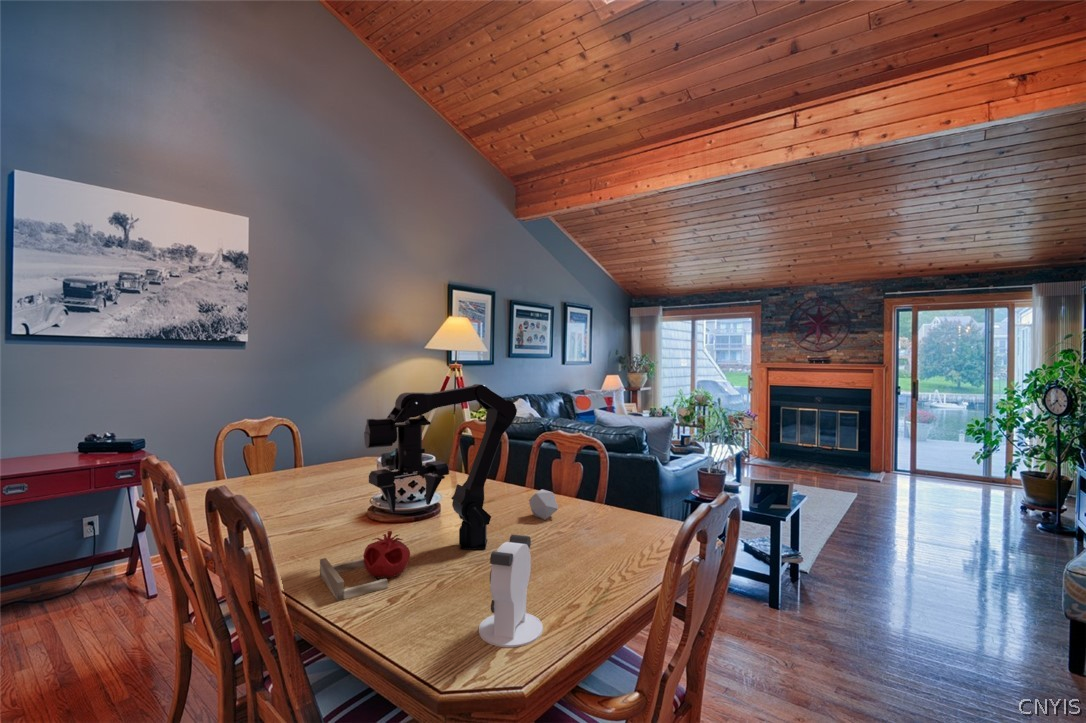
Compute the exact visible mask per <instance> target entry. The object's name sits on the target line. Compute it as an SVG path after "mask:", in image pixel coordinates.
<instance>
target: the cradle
mask: <svg viewBox="0 0 1086 723" xmlns="http://www.w3.org/2000/svg"><path fill="white" fill-rule="evenodd" d="M361 568H365V569H366V567H365V564H364V557H363V558H359V559H355V560H354V559H353V560H351V561H346V562H342V563H338V564H334V565H333V564H331V563H330V561H329V560H328V558H326V557H325V558H320V559H319V576H320V578H321V580H322V581H323V582H324V584H325V586H327V588H328V589H329V591H330V592H331V594H332V595H333V597H334V598H335V599H336V601H337V602H340V601H344V600H347V599H351V598H355V597H358V596H362V595H366V594H369V593H373V592H378V591H381V590H384V589H387V588H388V587H389V586H388V584H389V583H388V582H389V580H388V579H387V578H383V579H380V577H373V578H374V579H375V581H371V582H368V583H363V584H360V585H355V586H351V587H348V588H345V581H344V579H343V578H342V577H341V576H340V573H343V572H347V571H352V570H357V569H361Z"/></svg>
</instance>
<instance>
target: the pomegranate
mask: <svg viewBox="0 0 1086 723" xmlns="http://www.w3.org/2000/svg"><path fill="white" fill-rule="evenodd" d="M392 534H393V531H392V530H390V531H389V530H388V531H387V534H385V533H384V534H383V535H382V536H383V539H382V538H380V537H375V538H374V539H372V541H374V540H377V541H374V542H371V543H369V544H368V545H367V546H366V547H365V548H364V552H363V555H362V556H363V558H364V564H365V567H366V568H365V567H364V568H365V569H366V571H367V573H368V574H369V575H370V576H371V577H373V578H374V577H378V578H386V579H387V578H392V577H393V578H394V577H396V576H399V575H401V574H403V573H404V571H405V569H406V567H407V566H408V564H409V560H410V557H411V550H410V549H409V547H408V546H407V545H406V544H405V543H404V542H402V541H403V540H404V538H399V537H398V536H400V535H401V534H400V533H399V534H396V535H394V536H393V537H392Z"/></svg>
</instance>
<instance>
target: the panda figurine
mask: <svg viewBox="0 0 1086 723" xmlns="http://www.w3.org/2000/svg"><path fill="white" fill-rule="evenodd" d="M531 545H532V541H531V537H530V535H522V534H521V535H520V534H510V536H509V541H505V542H504V543H503V542H502V544H500V546H499V547H498V548H497V550H496V551H494V550H493V551H492V552H491V554H490V557H489V563H490V564H491V568H490V573H489V584H490V593H491V594H490V595H491V598H492V600H491V604H490V612H491V613H493V614H491V615H489V616H488V617H486V618H484V620H483V621H481V622H480V624H479V627H478V633H479V634H478V635H479V637H480V638H481V639H482V640H483V641H485V643H487V644H489V645H493V646H496V647H499V648H500V647H501V648H517V647H523V646H526V645H529V644H532V643H534V642H535V641H537V640H538V639H539V638H540V637H541V635H542V633H543V631H544V625H543V622H542V621H541V620H540V619H539V618H538V617H536V615H533V614H531V613H528V612H527V595H528V594H527V592H528V590H527V589H528V586H529V582H530V577H531V569H532V558H531V550H530V549H531Z"/></svg>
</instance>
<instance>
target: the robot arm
mask: <svg viewBox="0 0 1086 723" xmlns="http://www.w3.org/2000/svg"><path fill="white" fill-rule="evenodd" d="M473 401H476V402H477V403H478V404H479V405H480V406H481V407H482V408H483V409H485V410H486V414H485V429H484V430H485V431H484V433H483V436H482V438H481V441H480V444H479V446H478V450H477V452H476V455H475V458H474V460H473V464H472V466H471V469H470V472H469V473H468V477H467V479H466V481H465V482H464V483H462V485H461V484H459V483H457V484H456V486H455V491H454V494H453V495H452V496H451V498H450V499H451V500H452V503H451V504H452V505H451V506H452V508H453V511H454V512H455V513H456V514H457V515H458V516H459V519H460V520H462V521H461V525H460V526H459V530H458V531H459V532H458V535H459V536H458V537H459V539H458V544H459V549H460V550H485V549H487V544H488V537H487V535H488V534H487V533H488V532H487V531H488V530H487V528H488V527H487V526H488V525H490V522H491V519H492V516H491V515H490V514H489V513H488V512H487V511H486V510H485V508H484V502H485V484H486V481H487V479H488V476H489V474H490V471H491V467H492V465H493V462H494V459H495V456H496V453H497V451H498V448H499V446H500V442H501V440H502V437H503V435H504V433H505V432H506V431H507V430H508V429H509V428H510V427H511V425H512V424H513V422H514V420H515V418H516V416H517V412H518V408H517V407H516V404H515V403H514V402H513V401H511V400H508V399H505V398H503V397H502V396H500V395H499V394H497V393H495V391H492V390H491V389H490V388H488V386H486V385H485V384H478V383H475V384H473V385H469V386H464V387H457V388H451V389H446V390H439V391H436V392H435V391H434V392H403V393H401V394H399V395H398V397H397V398H396V399H395V402H394V407H393V408H392V409H391V411H390V412H389V413H388V416H386V418H367V419H366V424H365V429H364V430H365V431H364V433H363V438H364V439H363V440H364V445H365V448H366V449H375V448H376V449H377V448H385V447H392V446H393V444H396V442H397V447H396V448H395V450H394V452H395V453H394V455H393V454H392V453H391V452H385V453H382V454H380V455H381V456H380V463H381V467H382V469H377V470H376V469H375V470H371V471H370V473H369V474H368V483H369V485H373V486H375V487H377V488H379V489H381V491H382V493H383V495H384V496H385V499H386V502H387V504H388V507H389V510H390V512H391V513H392V514H394V513H395V511H396V494H397V493H396V492H397V491H396V488H397V486H396V484H394V482H395V481H396V480H399V479H405V478H410V477H411V478H412V477H416V476H424V480H425V504H426V506H430V504H431V502H432V500H433V497H434V495H435V493H436V492H437V489H438V488H439V485H440V484H441V481H442V480H444V479H446V476H448V475H450V466H449V464H448V463H447V462H444V461H440V460H435V461H433V460H432V461H427V462H426V463H425V464H423V454H425V451H426V450H425V448H423V426H430V425H431V421H430V420H428V419H427V418H426V417H425V414H428V413H429V412H431V411H434V410H435V409H438V408H442V407H447V406H454V405H457V404H462V403H463V404H464V403H467V402H473ZM386 467H387V468H388V469H387V468H386ZM394 470H395V471H394Z"/></svg>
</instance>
